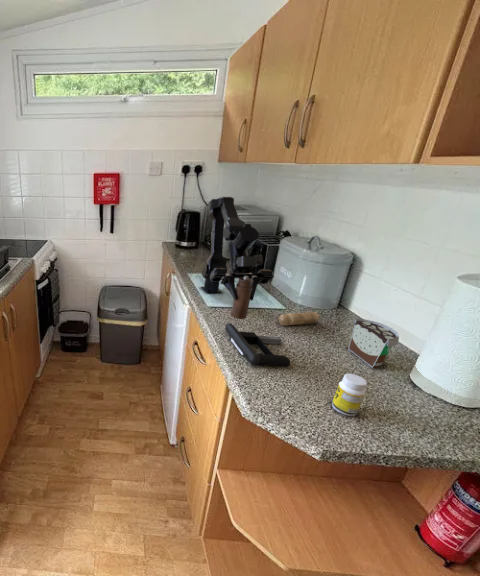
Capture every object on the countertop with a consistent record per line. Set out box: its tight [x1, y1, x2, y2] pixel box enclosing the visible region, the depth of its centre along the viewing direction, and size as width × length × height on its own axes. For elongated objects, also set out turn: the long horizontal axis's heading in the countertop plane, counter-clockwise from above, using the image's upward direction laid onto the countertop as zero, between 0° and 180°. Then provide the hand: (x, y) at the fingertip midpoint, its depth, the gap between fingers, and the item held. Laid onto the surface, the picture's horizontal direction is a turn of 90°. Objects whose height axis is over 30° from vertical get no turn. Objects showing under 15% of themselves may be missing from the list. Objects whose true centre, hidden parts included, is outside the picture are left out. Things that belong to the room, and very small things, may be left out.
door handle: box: [223, 322, 291, 367], centre depth 95 cm, size 3×20×16 cm
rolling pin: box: [278, 311, 320, 327], centre depth 109 cm, size 15×4×4 cm, turn 100°
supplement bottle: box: [331, 373, 368, 417], centre depth 70 cm, size 5×5×8 cm
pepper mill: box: [230, 276, 253, 320], centre depth 102 cm, size 5×5×14 cm
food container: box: [347, 318, 400, 369], centre depth 89 cm, size 12×6×10 cm, turn 179°
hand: (243, 299), depth 101 cm, fingers closed on pepper mill, 5 cm apart
